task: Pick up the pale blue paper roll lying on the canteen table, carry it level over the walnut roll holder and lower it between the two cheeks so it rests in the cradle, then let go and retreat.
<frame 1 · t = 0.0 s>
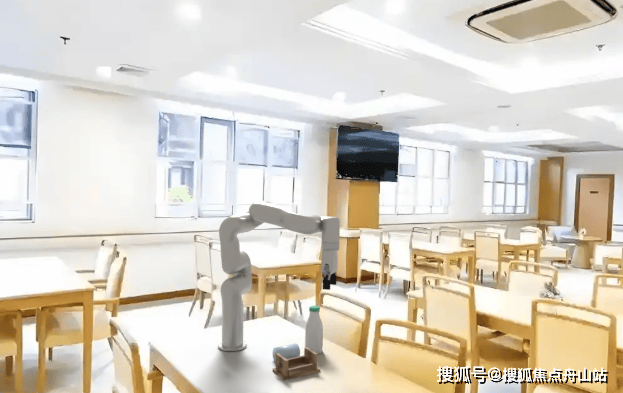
hand: (329, 286, 182), 31 cm above the table, tool pointing down, fingers open, 9 cm apart
milk bottle: (313, 351, 193), on the table
holder: (296, 371, 172), on the table
roll: (286, 360, 183), on the table
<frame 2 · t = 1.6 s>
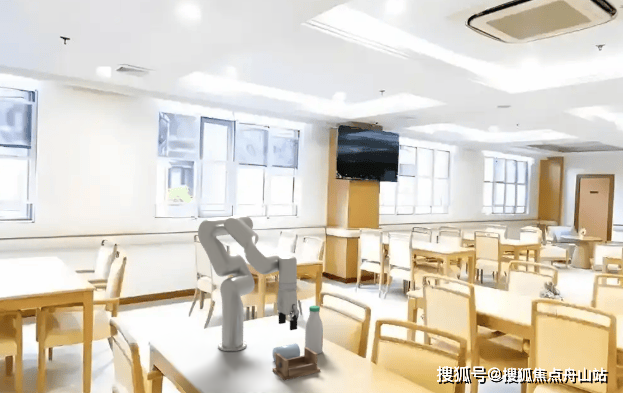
hand: (287, 326, 183), 14 cm above the table, tool pointing down, fingers open, 9 cm apart
nothing on the table moved.
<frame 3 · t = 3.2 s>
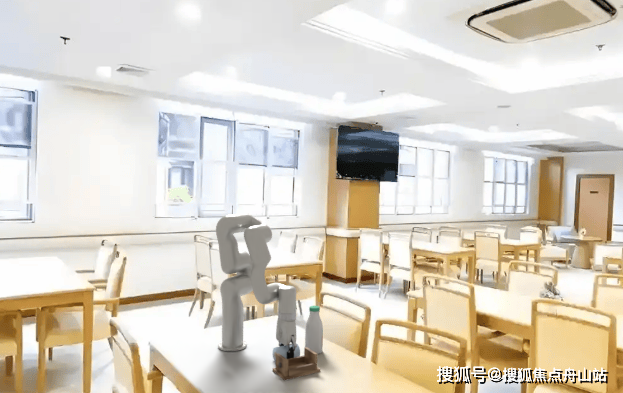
hand: (286, 357, 183), 1 cm above the table, tool pointing down, fingers closed on roll, 6 cm apart
roll: (286, 359, 183), on the table, touching gripper
everything else where it was.
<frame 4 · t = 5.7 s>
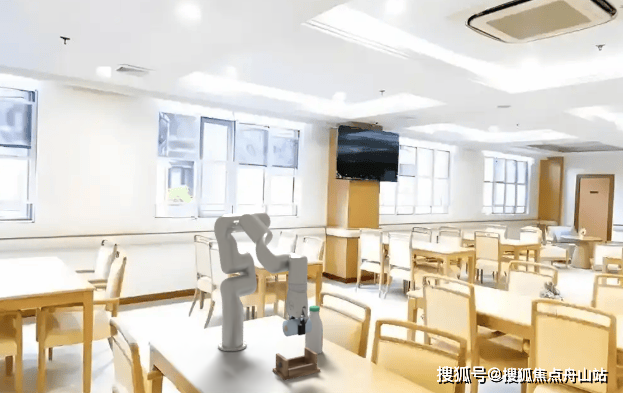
hand: (297, 331, 172), 16 cm above the table, tool pointing down, fingers closed on roll, 6 cm apart
roll: (297, 333, 172), point 15 cm above the table, touching gripper
everything else where it was.
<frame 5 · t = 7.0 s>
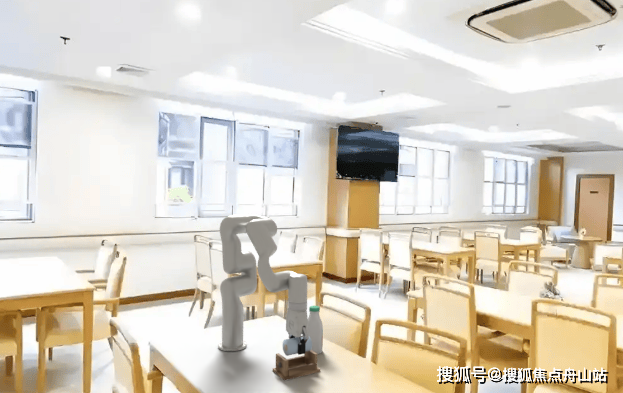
hand: (297, 350, 172), 8 cm above the table, tool pointing down, fingers closed on roll, 6 cm apart
roll: (297, 352, 172), point 7 cm above the table, touching gripper
everything else where it was.
when the fingers open (5 cm above the table, at t = 8.2 s): roll drops 3 cm, resting on holder.
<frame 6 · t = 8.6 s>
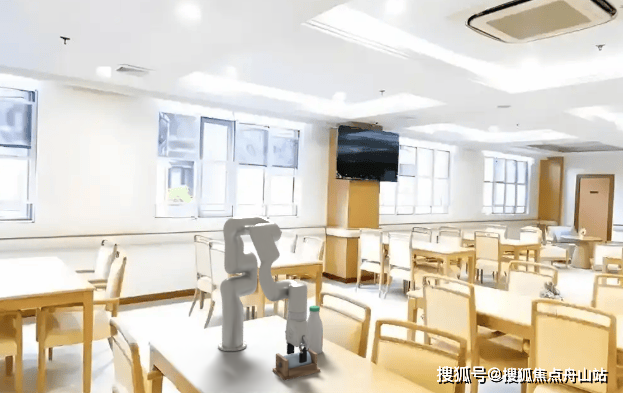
hand: (296, 357, 172), 5 cm above the table, tool pointing down, fingers open, 9 cm apart
roll: (296, 368, 172), point 1 cm above the table, touching holder
everything else where it was.
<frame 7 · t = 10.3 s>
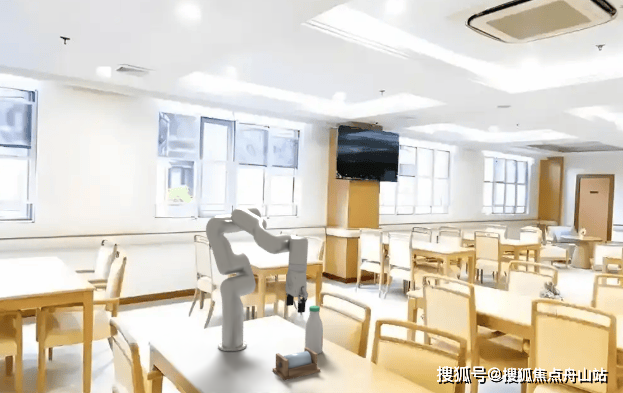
hand: (295, 308, 177), 23 cm above the table, tool pointing down, fingers open, 9 cm apart
nothing on the table moved.
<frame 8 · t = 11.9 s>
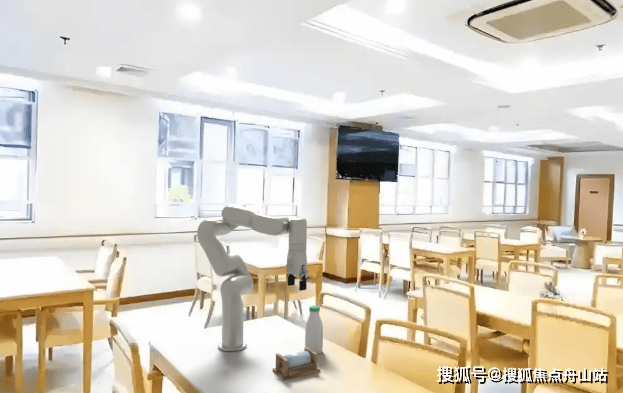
hand: (296, 287, 184), 30 cm above the table, tool pointing down, fingers open, 9 cm apart
nothing on the table moved.
at the end: roll 0.1 cm off-centre on the holder, point 1.0 cm above the holder's base; the gripper is holding nothing; roll touching holder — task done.
